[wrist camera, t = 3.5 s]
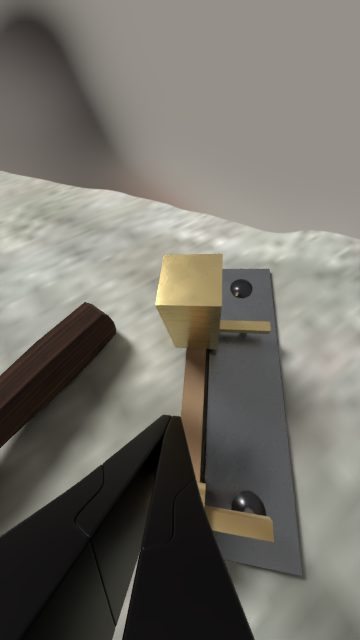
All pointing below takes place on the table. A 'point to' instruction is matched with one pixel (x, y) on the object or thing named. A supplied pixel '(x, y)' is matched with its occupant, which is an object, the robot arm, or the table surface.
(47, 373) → the hammer
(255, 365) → the bolt strip
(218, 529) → the trammel bar
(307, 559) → the table surface
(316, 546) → the table surface
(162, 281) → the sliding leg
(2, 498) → the table surface
